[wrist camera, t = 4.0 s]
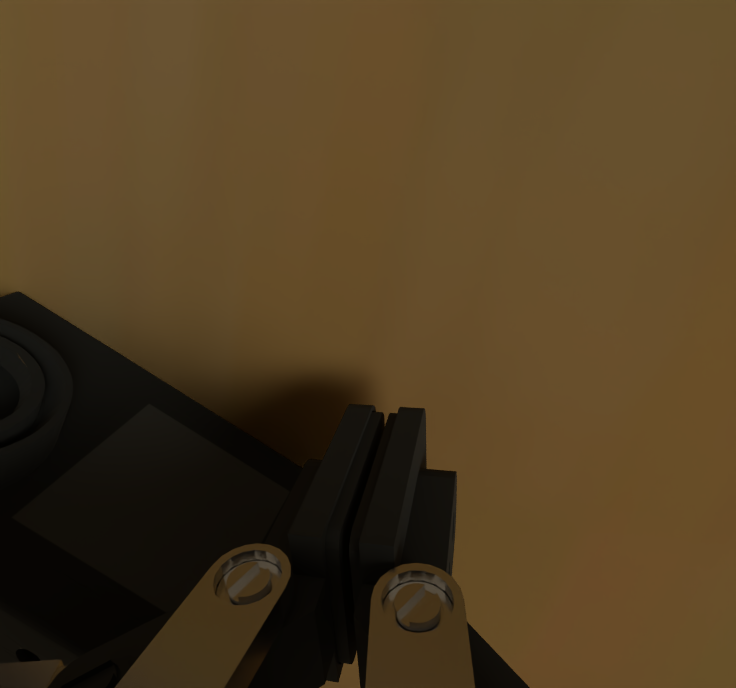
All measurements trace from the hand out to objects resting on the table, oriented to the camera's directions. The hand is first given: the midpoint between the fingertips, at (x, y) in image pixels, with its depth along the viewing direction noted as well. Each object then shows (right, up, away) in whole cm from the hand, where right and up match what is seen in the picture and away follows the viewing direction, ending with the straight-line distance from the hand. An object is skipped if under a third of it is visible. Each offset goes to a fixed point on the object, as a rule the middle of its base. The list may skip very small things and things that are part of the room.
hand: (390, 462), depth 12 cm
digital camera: (-7, 0, +4) cm, 8 cm away
